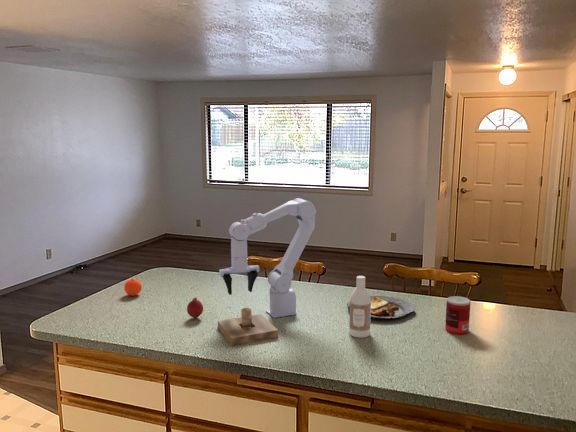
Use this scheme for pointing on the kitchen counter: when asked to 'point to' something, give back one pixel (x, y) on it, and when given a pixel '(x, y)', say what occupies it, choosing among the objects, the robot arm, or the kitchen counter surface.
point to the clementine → (132, 287)
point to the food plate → (388, 307)
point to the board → (247, 330)
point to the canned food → (457, 315)
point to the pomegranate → (195, 308)
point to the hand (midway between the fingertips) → (240, 292)
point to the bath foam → (360, 310)
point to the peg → (246, 318)
